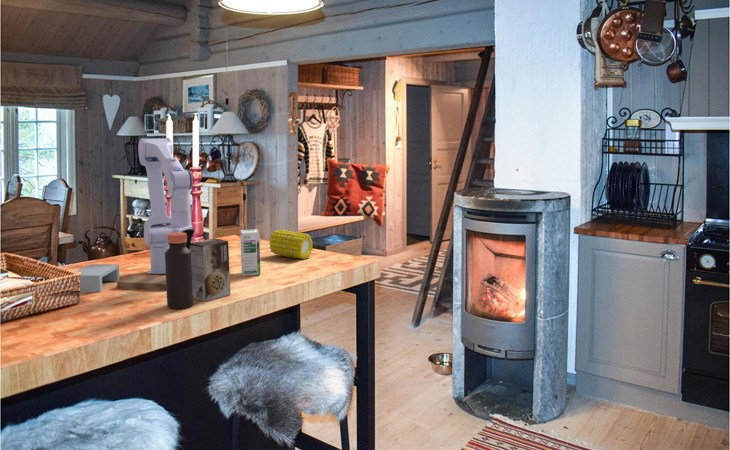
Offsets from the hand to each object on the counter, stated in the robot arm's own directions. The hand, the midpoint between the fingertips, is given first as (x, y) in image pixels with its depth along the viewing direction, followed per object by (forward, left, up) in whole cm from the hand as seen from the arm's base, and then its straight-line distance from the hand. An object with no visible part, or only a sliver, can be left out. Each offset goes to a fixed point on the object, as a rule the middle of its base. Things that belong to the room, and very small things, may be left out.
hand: (182, 255), depth 197 cm
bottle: (-5, +21, -10) cm, 24 cm away
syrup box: (-17, -17, -10) cm, 26 cm away
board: (+11, 0, -10) cm, 15 cm away
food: (-27, -43, -10) cm, 52 cm away
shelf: (+27, 0, -9) cm, 29 cm away
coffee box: (-11, +11, -10) cm, 19 cm away
